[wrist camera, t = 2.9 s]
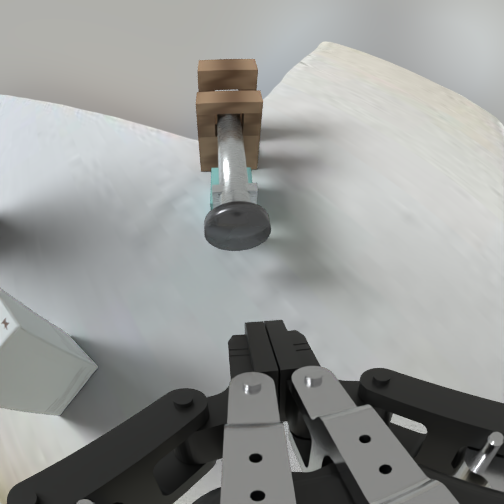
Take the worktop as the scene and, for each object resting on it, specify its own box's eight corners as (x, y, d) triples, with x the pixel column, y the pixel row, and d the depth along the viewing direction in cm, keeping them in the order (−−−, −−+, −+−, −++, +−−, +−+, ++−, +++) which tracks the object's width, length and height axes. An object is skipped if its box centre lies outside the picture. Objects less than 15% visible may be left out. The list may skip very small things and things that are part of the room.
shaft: (209, 272, 34) (202, 213, 25) (208, 149, 45) (205, 91, 36) (264, 269, 35) (274, 210, 26) (247, 147, 45) (251, 90, 37)
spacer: (211, 224, 39) (210, 203, 35) (212, 189, 42) (211, 167, 39) (252, 223, 39) (253, 202, 36) (249, 188, 42) (250, 167, 39)
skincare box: (69, 333, 30) (-10, 270, 17) (102, 369, 28) (22, 320, 16) (28, 383, 26) (-62, 343, 13) (59, 422, 24) (-36, 401, 12)
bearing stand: (201, 171, 43) (195, 93, 32) (202, 129, 49) (198, 60, 38) (256, 169, 44) (263, 91, 33) (250, 127, 50) (254, 59, 39)
